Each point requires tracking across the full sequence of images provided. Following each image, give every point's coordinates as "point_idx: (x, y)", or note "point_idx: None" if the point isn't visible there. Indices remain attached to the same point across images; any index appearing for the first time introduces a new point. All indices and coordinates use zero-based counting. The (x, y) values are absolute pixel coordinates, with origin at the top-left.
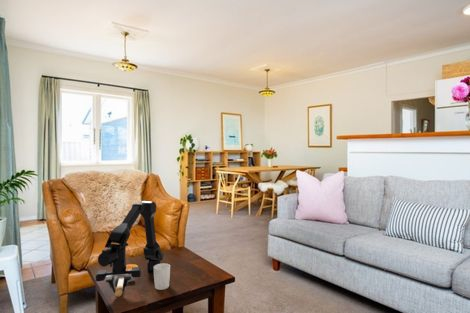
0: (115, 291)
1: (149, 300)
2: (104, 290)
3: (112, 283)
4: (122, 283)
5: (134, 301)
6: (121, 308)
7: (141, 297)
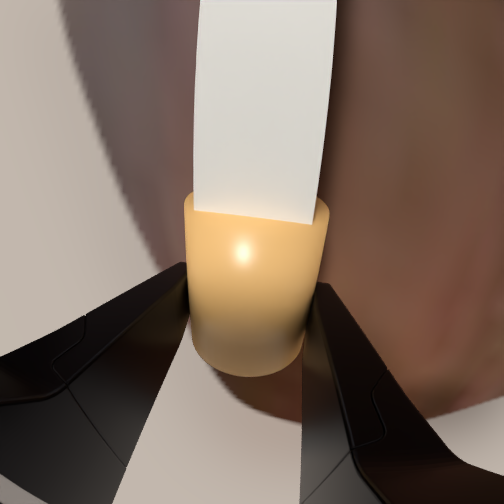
0: (194, 346)
1: (487, 391)
2: (67, 12)
3: (108, 477)
4: (323, 3)
5: (398, 383)
6: (281, 419)
7: (475, 345)
